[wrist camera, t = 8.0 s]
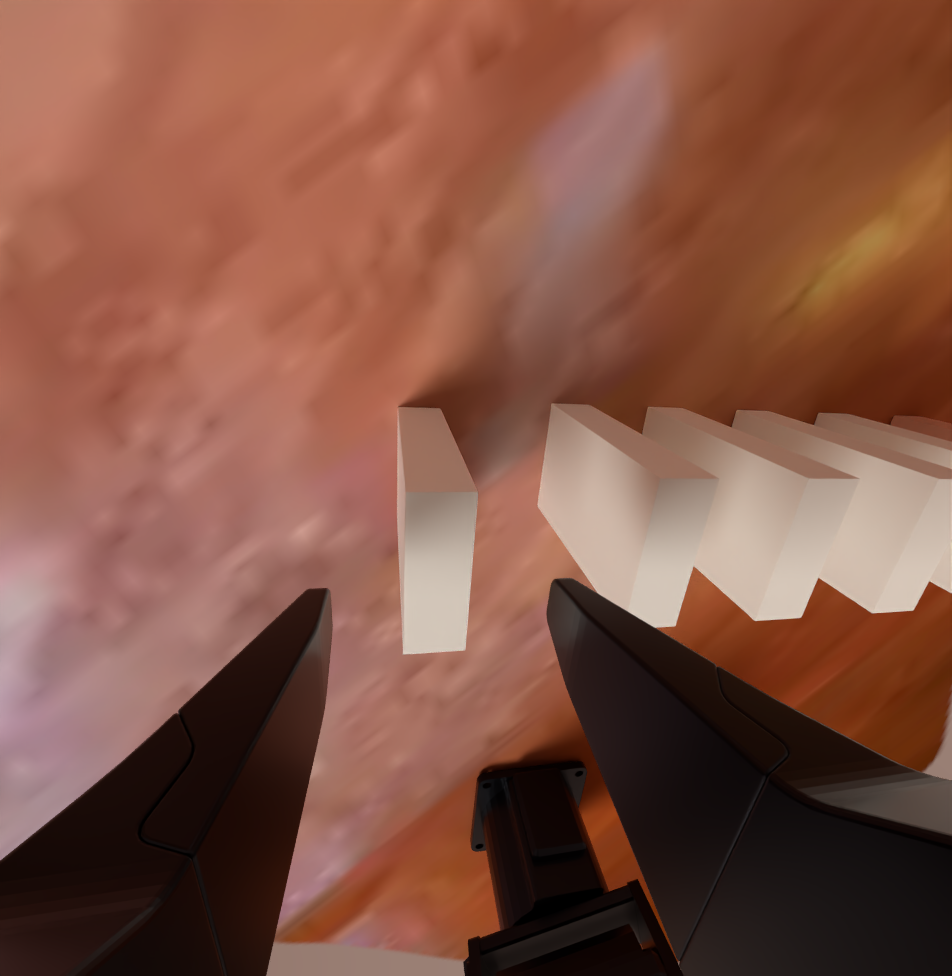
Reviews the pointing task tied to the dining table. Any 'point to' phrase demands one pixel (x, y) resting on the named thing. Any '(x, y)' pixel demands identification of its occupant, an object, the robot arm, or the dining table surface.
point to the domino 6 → (924, 426)
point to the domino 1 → (433, 533)
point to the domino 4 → (873, 512)
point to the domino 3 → (758, 512)
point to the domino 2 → (624, 510)
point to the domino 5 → (925, 447)
